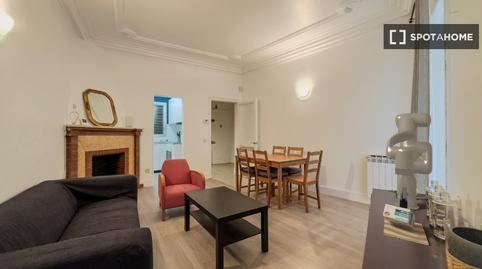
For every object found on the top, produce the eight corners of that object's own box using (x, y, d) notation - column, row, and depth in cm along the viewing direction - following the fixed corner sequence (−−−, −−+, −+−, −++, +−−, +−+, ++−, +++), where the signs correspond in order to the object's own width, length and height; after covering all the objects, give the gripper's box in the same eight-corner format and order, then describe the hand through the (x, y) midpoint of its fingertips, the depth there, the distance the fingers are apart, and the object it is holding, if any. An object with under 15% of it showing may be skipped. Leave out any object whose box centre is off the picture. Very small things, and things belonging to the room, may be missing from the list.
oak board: (384, 218, 118) (384, 216, 118) (421, 225, 109) (421, 224, 109) (383, 234, 100) (383, 232, 100) (428, 245, 91) (428, 243, 91)
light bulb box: (416, 216, 105) (411, 209, 100) (413, 229, 103) (408, 223, 97) (390, 209, 114) (385, 202, 108) (388, 221, 112) (382, 215, 106)
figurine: (408, 200, 147) (408, 188, 146) (387, 197, 153) (387, 186, 153) (407, 199, 149) (408, 187, 149) (387, 196, 156) (387, 185, 156)
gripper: (394, 169, 116) (394, 202, 116) (395, 173, 104) (394, 210, 104) (412, 170, 112) (411, 204, 112) (415, 175, 99) (414, 214, 100)
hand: (403, 207), depth 108 cm, fingers closed
